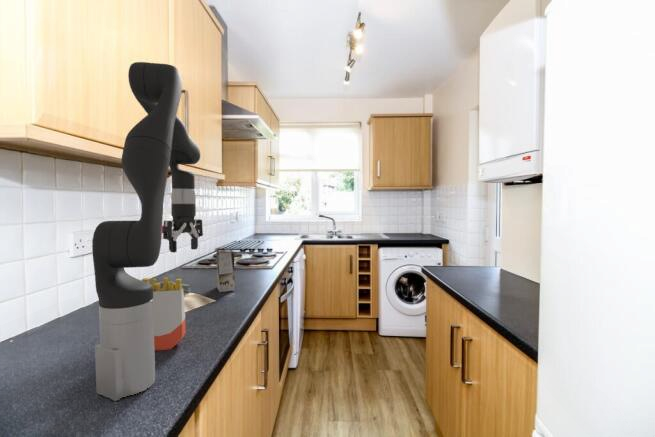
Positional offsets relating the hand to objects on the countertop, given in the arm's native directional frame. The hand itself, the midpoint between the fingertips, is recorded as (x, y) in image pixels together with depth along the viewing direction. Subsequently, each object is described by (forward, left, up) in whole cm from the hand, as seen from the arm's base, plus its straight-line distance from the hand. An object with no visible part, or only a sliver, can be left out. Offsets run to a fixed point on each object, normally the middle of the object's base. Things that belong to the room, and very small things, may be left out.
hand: (184, 250), depth 111 cm
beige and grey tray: (+2, +11, -21) cm, 24 cm away
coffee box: (+26, +6, -20) cm, 34 cm away
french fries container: (-23, -18, -20) cm, 35 cm away
